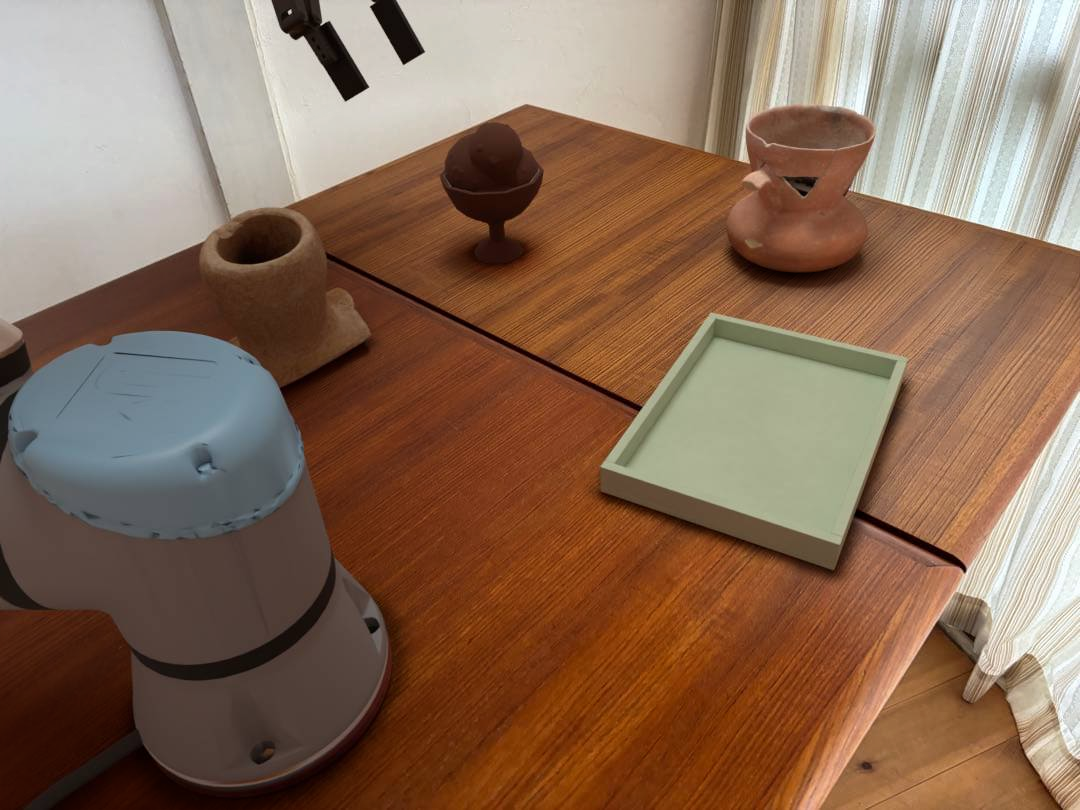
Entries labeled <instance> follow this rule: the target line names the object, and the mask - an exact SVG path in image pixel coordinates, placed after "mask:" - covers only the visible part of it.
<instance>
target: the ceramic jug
mask: <svg viewBox="0 0 1080 810" xmlns="http://www.w3.org/2000/svg"><path fill="white" fill-rule="evenodd" d="M876 131H877V129H876V126H875V123H874V122H873V121H872V120H871V119H870V118H869V117H867V116H866V115H864V114H861V113H858V112H857V111H856V110H852V109H850V108H846V107H842V106H832V105H826V104H821V103H807V104H805V103H798V104H795V103H794V104H786V105H779V106H773V107H770V108H767V109H764V110H761V111H759V112H757V113H755V114H753V115H752V116H751V117H750V118H748V120H747V122H746V124H745V145H746V152H747V156H748V161H749V165H750V168H751V172H750V173H748V174H747V175H746V176H745V177H743V179H742V180H741V184H742V186H743V187H744V188H745V189H746V190H747V191H750V192H751V193H749V194H747V195H745V196H744V197H743V198H741V199H740V200H738V201H737V202H736V203H735V205H734V206H733V207H732V208H731V210H730V211H729V213H728V216H727V218H726V221H725V230H726V235H727V239H728V241H729V243H730V245H731V246H732V248H733V249H734V250H735V251H736V252H737V253H738V254H739V255H740V256H742V257H743V258H744V259H745V260H747V261H749V262H751V263H752V264H755V265H758V266H760V267H762V268H767V269H769V270H774V271H779V272H785V273H786V272H787V273H814V272H820V271H825V270H829V269H833V268H835V267H838V266H841V265H843V264H844V263H846V262H848V261H850V260H851V259H853V258H855V256H856V255H857V254H858V253H859V252H860V251H861V250H862V249H863V246H864V245H865V243H866V242H867V239H868V233H869V227H868V222H867V220H866V218H865V215H864V214H863V212H862V211H861V209H860V208H859V207H857V205H856V204H854V203H853V202H852V201H851V200H849V199H848V198H846V196H847V194H848V193H849V191H850V189H851V187H852V185H853V183H854V180H855V178H856V176H857V174H858V173H859V171H860V169H861V168H862V167H863V164H864V162H865V161H866V159H867V157H868V155H869V152H870V151H871V148H872V146H873V143H874V140H875V137H876V134H877V132H876Z"/></svg>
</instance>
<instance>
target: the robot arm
mask: <svg viewBox="0 0 1080 810" xmlns="http://www.w3.org/2000/svg"><path fill="white" fill-rule="evenodd" d="M270 1H271V5H272V7H273V10H274V14H275V17H276V20H277V24H278V26H279V29H280V30H281V31H282V32H283V33H284V34H286V35H288V36H289V37H290V38H291V39H292V40H294V41H298V40H300V39H301V38H304V39H305V40H306V42H307V44H308V46H309V47H310V48H311V50H312V52H313V53H314V56H315V57H316V58H317V60H318V62H319V63H320V65H321V66H322V67H323V68H324V70H325V72H326V73H327V75H328V76H329V78H330V80H331V81H332V83H333V85H334V86H335V89H337V92H338V93H339V94H340V96H341V98H342V99H343V102H345V103H347V102H348V101H350V100H351V99H353V98H354V97H356V96H358V95H359V94H361V93H363V92H364V91H366V90H368V89H369V88H370V85H369V84H368V82H367V80H366V79H365V77H364V76H363V74H362V72H361V70H360V69H359V67H358V66H357V64H356V62H355V60H354V59H353V57H352V55H351V54H350V52H349V50H348V49H347V47H346V45H345V44H344V42H343V40H342V39H341V37H340V35H339V34H338V32H337V31H336V29H335V27H334V25H333V23H332V22H331V20H327V21H325V22H324V23H323V15H322V11H321V9H322V8H321V3H320V0H270ZM370 1H371V2H372V3H373V4H371V5H370V6H369V8H370V10H371V11H372V13H373V15H374V17H375V19H376V20H377V22H378V24H379V26H380V27H381V29H382V30H383V31H382V32H383V33H384V34H385V36H386V37H387V39H388V41H389V43H390V44H391V46H392V48H393V50H394V52H395V53H396V55H397V58H398V59H399V61H400V62H401V64H402V66H405V65H407V64H408V63H410V62H411V61H413V60H415V59H417V58H418V57H420V56H421V55H423V54H425V53H426V51H425V49H424V47H423V45H422V43H421V41H420V40H419V37H418V36H417V34H416V32H415V31H414V29H413V28H412V26H411V24H410V22H409V20H408V18H407V16H406V15H405V12H404V11H403V9H402V8H401V6H400V4H399V2H398V1H397V0H370ZM290 11H291V13H289V12H290ZM25 338H26V337H25V336H24V333H23V331H22V330H21V329H20V328H18V327H17V326H15V325H14V324H12V323H10V322H8V321H7V320H4V319H3V318H1V317H0V611H99V612H103V613H104V614H108V615H109V616H110V617H111V619H112V620H113V622H114V624H115V626H116V627H117V629H118V631H119V632H120V635H122V637H123V639H124V641H125V642H126V644H127V646H128V647H129V649H130V656H131V657H130V659H131V661H130V662H131V663H130V665H131V683H132V711H133V712H132V713H133V719H134V724H135V729H134V730H133V731H131V732H130V733H129V734H127V735H126V736H124V737H123V738H121V739H120V740H118V741H117V742H115V743H113V744H112V745H111V746H109V747H108V748H106V749H105V750H103V751H101V752H100V753H99V754H98V755H96V756H94V757H93V758H92V759H90V760H88V761H87V762H85V763H83V765H81V766H79V767H78V768H76V769H74V770H73V771H71V772H70V773H68V774H67V775H65V776H63V777H62V778H61V779H59V780H58V781H56V782H55V783H54V784H52V785H51V786H49V787H48V788H47V789H46V790H44V791H43V792H42V793H40V794H39V795H38V796H37V797H36V798H34V800H32V801H31V802H30V803H28V805H26V806H25V807H24V808H23V809H22V810H52V809H53V808H54V807H55V806H56V805H58V804H59V803H60V802H63V800H65V799H66V798H67V797H69V796H70V795H72V794H73V793H74V792H76V791H78V790H79V789H81V788H82V787H84V786H85V785H87V784H88V783H90V782H91V781H93V780H95V779H96V778H97V777H99V776H101V775H102V774H103V773H105V772H106V771H107V770H110V768H112V767H113V766H115V765H116V764H118V763H119V762H121V761H122V760H124V759H125V758H127V757H128V756H129V755H131V754H132V753H134V752H136V751H137V750H139V749H140V748H142V747H144V748H145V749H146V751H147V752H148V754H149V755H150V757H151V759H152V760H153V761H154V763H155V765H157V767H158V769H160V771H161V772H163V773H164V775H165V776H166V777H167V778H169V779H170V780H172V781H173V782H174V783H176V784H178V785H179V786H182V787H183V788H185V789H187V790H190V791H192V792H195V793H197V794H201V795H205V796H209V797H216V798H228V799H229V798H231V799H235V798H236V799H237V798H250V797H256V796H263V795H266V794H270V793H274V792H278V791H281V790H285V789H286V788H289V787H292V786H294V785H297V784H299V783H300V782H301V783H302V782H303V781H305V780H306V779H309V778H310V777H313V776H315V775H316V774H318V773H320V772H321V771H322V770H324V769H325V768H328V766H329V765H331V764H332V763H334V762H335V761H337V760H338V759H339V758H340V757H341V756H342V755H344V753H346V752H347V751H348V750H350V748H351V747H353V745H354V744H355V743H356V742H357V741H358V740H359V738H360V737H361V736H362V735H363V734H364V733H365V731H366V730H367V729H368V727H369V726H370V725H371V723H372V722H373V720H374V719H375V717H376V715H377V714H378V712H379V710H380V708H381V706H382V704H383V701H384V700H385V697H386V694H387V692H388V689H389V685H390V680H391V677H392V669H393V652H392V644H391V640H390V637H389V636H390V635H389V632H388V628H387V624H386V621H385V618H384V616H383V613H382V612H381V609H380V608H379V605H378V604H377V602H376V600H375V599H374V598H373V597H372V596H371V594H370V593H369V592H368V591H367V590H366V589H365V587H363V585H362V584H360V582H358V580H357V579H356V578H355V577H354V576H353V575H352V574H351V573H350V572H349V570H347V569H346V568H345V567H344V566H343V564H341V562H340V561H339V560H338V559H337V558H335V556H334V553H333V549H332V546H331V544H330V540H329V536H328V533H327V530H326V526H325V522H324V519H323V516H322V511H321V508H320V505H319V502H318V498H317V495H316V491H315V487H314V485H313V482H312V478H311V475H310V471H309V467H308V464H307V460H306V457H305V446H304V445H305V444H304V441H303V439H302V434H301V431H300V429H299V427H298V424H297V422H296V421H295V419H294V417H293V416H292V414H291V412H290V410H289V408H288V405H287V403H286V400H285V398H284V396H283V394H282V391H281V389H280V388H279V387H278V385H277V383H276V381H275V380H274V378H273V377H272V375H271V374H270V372H268V371H267V370H265V369H264V368H263V367H262V366H261V365H260V363H259V362H258V361H257V359H256V358H254V357H253V356H252V355H250V354H249V353H247V352H246V351H244V350H242V349H240V348H239V347H237V346H235V345H233V344H230V343H228V341H226V340H223V339H220V338H216V337H213V336H209V335H207V334H206V335H205V334H200V333H194V332H186V331H175V330H173V331H172V330H149V331H148V330H147V331H140V332H139V331H137V332H130V333H124V334H118V335H114V336H112V338H111V341H110V342H109V343H107V344H104V345H97V344H94V343H91V342H89V343H87V344H84V345H81V346H78V347H76V348H74V349H72V350H71V349H70V351H67V352H64V353H63V354H61V355H59V356H57V357H56V358H54V359H51V360H50V362H48V363H46V364H45V365H44V366H42V367H40V368H39V369H37V370H36V371H35V372H34V370H33V366H32V362H31V360H30V356H29V352H28V348H27V345H26V341H25Z"/></svg>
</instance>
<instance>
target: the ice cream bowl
mask: <svg viewBox="0 0 1080 810" xmlns="http://www.w3.org/2000/svg"><path fill="white" fill-rule="evenodd" d="M544 171H545V170H544V168H543V167H542V166H541V165H540V164H539V162H538V161H537V160H536V159H535V157H534V156H533V153H532V151H530V150H529V149H527V148H526V147H524V146H523V144H522V141H521V139H520V137H519V134H518V133H517V132H516V130H515V129H514V128H512V127H511V126H510V125H509V124H507V123H502V122H497V121H496V122H495V121H494V122H485V123H482V124H481V125H479V126H478V128H477V129H476V131H475V132H472V133H469V134H466V135H464V136H461V137H460V138H459V139H458V140H457V141H456V142H455V143H454V144H453V145H452V146H451V148H450V149H449V150H448V152H447V154H446V157H445V160H444V170H443V171H442V172H441V173H440V174H439V176H438V177H439V179H440V182H441V185H442V188H443V190H444V192H445V193H446V195H447V196H448V198H449V199H450V201H451V203H452V205H453V206H454V208H455V209H456V210H457V211H458V212H460V213H461V214H462V215H463V216H464V217H467V218H469V219H471V220H474V221H478V222H481V223H484V224H487V226H488V234H489V237H488V238H486V239H484V240H482V241H480V242H479V243H478V244H477V246H476V247H475V249H474V253H473V254H474V256H475V257H476V259H477V260H478V261H480V262H483V263H486V264H489V265H497V264H508V263H510V262H512V261H515V260H518V259H519V258H520V257H521V255H522V254H523V253H524V249H523V246H522V245H521V244H520V242H519V240H516V239H514V238H513V237H509V236H506V231H505V230H506V229H505V224H506V222H507V221H510V220H513V219H515V218H516V217H519V216H520V215H522V214H523V212H524V211H526V209H527V208H528V207H529V206H530V205H531V204H532V202H533V201H534V200H535V198H536V196H537V195H538V194H539V191H540V188H541V186H542V184H543V178H544Z"/></svg>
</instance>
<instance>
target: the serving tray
mask: <svg viewBox="0 0 1080 810" xmlns="http://www.w3.org/2000/svg"><path fill="white" fill-rule="evenodd" d="M908 364H909V357H906V356H902V355H898V354H892V353H889V352H886V351H881V350H876V349H873V348H868V347H864V346H859V345H856V344H850V343H846V342H842V341H837V340H833V339H829V338H825V337H824V338H823V337H820V336H815V335H811V334H808V333H807V334H806V333H802V332H799V331H794V330H789V329H784V328H780V327H776V326H772V325H767V324H763V323H760V322H759V323H758V322H755V321H751V320H745V319H741V318H738V317H732V316H729V315H723V314H720V313H715V312H710V313H709V314H708V316H707V317H706V318H705V320H704V321H703V322H702V324H701V326H700V327H699V328H698V329H697V331H696V333H695V334H694V335H693V336H692V338H691V339H690V341H689V342H688V343H687V345H686V346H685V348H684V349H683V351H682V352H681V353H680V355H679V356H678V357H677V359H676V360H675V361H674V363H673V364H672V366H671V368H670V369H669V370H668V372H667V373H666V374H665V376H664V377H663V379H662V380H661V381H660V382H659V384H658V385H657V387H656V388H655V390H654V391H653V392H652V394H651V395H650V397H649V398H648V400H646V402H645V404H644V405H643V407H642V408H641V409H640V411H639V412H638V413H637V415H636V416H635V418H634V419H633V420H632V422H631V424H630V425H629V426H628V427H627V428H626V430H625V432H624V433H623V434H622V436H621V437H620V439H619V440H618V441H617V443H616V444H615V446H614V447H613V448H612V450H611V451H610V453H609V454H608V455H607V456H606V458H605V460H604V461H603V462H602V463H601V465H600V467H599V469H600V470H599V471H600V492H601V493H604V494H607V495H610V496H613V497H616V498H619V499H621V500H625V501H628V502H631V503H634V504H636V505H639V506H642V507H646V508H648V509H651V510H655V511H657V512H660V513H663V514H666V515H669V516H672V517H675V518H678V519H680V520H684V521H686V522H690V523H693V524H695V525H699V526H701V527H704V528H707V529H710V530H713V531H717V532H718V533H721V534H725V535H728V536H731V537H734V538H737V539H740V540H743V541H745V542H748V543H752V544H754V545H758V546H760V547H763V548H767V549H769V550H772V551H775V552H778V553H781V554H784V555H787V556H790V557H793V558H796V559H799V560H801V561H804V562H807V563H810V564H813V565H816V566H819V567H822V568H825V569H828V570H831V571H834V570H835V569H836V566H837V563H838V560H839V558H840V555H841V553H842V550H843V547H844V544H845V542H846V538H847V536H848V533H849V530H850V528H851V525H852V522H853V519H854V516H855V513H856V511H857V509H858V505H859V503H860V500H861V498H862V494H863V492H864V489H865V486H866V484H867V481H868V478H869V476H870V472H871V470H872V467H873V463H874V462H875V459H876V456H877V453H878V451H879V448H880V445H881V442H882V439H883V437H884V434H885V432H886V428H887V425H888V423H889V420H890V417H891V415H892V413H893V409H894V406H895V404H896V401H897V399H898V395H899V393H900V391H901V387H902V385H903V382H904V381H903V380H904V377H905V375H906V371H907V366H908Z"/></svg>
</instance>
